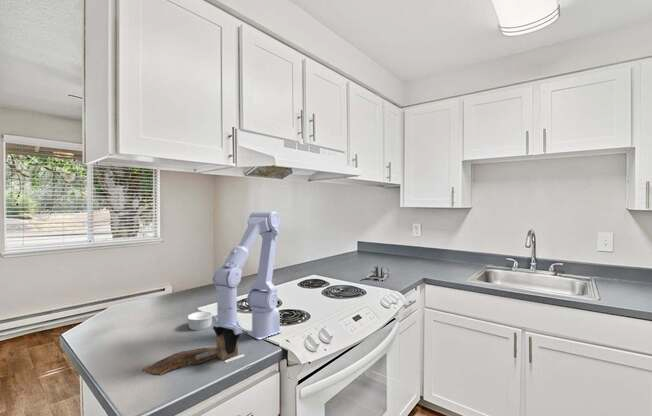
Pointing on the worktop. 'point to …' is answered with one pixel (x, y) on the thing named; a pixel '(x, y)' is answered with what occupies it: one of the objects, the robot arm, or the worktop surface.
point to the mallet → (219, 350)
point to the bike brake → (378, 274)
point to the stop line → (234, 358)
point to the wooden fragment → (179, 361)
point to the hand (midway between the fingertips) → (227, 350)
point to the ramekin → (200, 320)
